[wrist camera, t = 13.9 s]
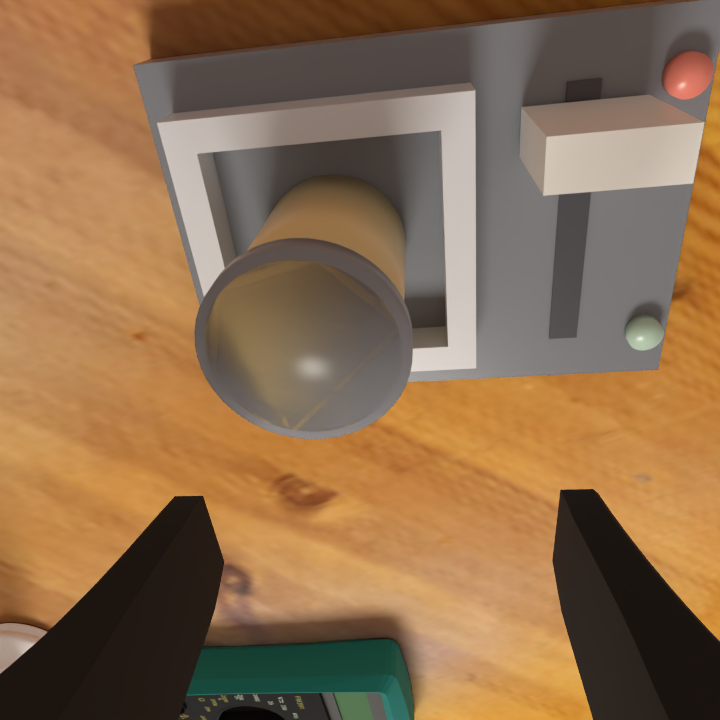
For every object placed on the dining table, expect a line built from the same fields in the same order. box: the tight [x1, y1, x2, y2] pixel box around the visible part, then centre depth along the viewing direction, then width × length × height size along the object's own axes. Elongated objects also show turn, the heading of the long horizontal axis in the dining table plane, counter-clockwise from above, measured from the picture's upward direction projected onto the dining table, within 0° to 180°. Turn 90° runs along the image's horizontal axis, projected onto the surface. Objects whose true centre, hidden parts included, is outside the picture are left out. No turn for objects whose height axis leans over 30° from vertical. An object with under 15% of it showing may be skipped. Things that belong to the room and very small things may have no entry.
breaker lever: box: [519, 95, 705, 196], centre depth 14 cm, size 3×1×3 cm, turn 96°
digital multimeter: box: [178, 639, 414, 720], centre depth 31 cm, size 8×15×3 cm, turn 100°
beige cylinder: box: [195, 175, 413, 439], centre depth 15 cm, size 4×4×6 cm
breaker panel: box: [133, 0, 720, 382], centre depth 17 cm, size 14×10×2 cm
